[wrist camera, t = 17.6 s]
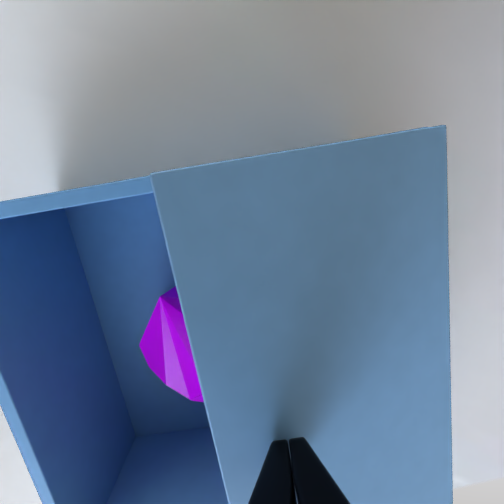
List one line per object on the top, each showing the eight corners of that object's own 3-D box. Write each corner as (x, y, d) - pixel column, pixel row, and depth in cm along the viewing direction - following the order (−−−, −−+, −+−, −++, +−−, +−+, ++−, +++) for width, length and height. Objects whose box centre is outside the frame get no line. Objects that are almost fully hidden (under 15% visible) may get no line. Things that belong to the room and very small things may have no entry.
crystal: (149, 335, 18) (114, 391, 13) (187, 248, 17) (163, 278, 12) (235, 371, 18) (229, 436, 14) (278, 289, 17) (287, 332, 13)
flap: (434, 126, 9) (447, 124, 8) (445, 542, 12) (454, 553, 12) (149, 173, 7) (149, 173, 6) (263, 649, 10) (268, 666, 10)
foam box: (354, 143, 16) (430, 126, 9) (376, 404, 19) (442, 530, 13) (56, 195, 16) (-82, 215, 10) (133, 437, 20) (72, 574, 13)
